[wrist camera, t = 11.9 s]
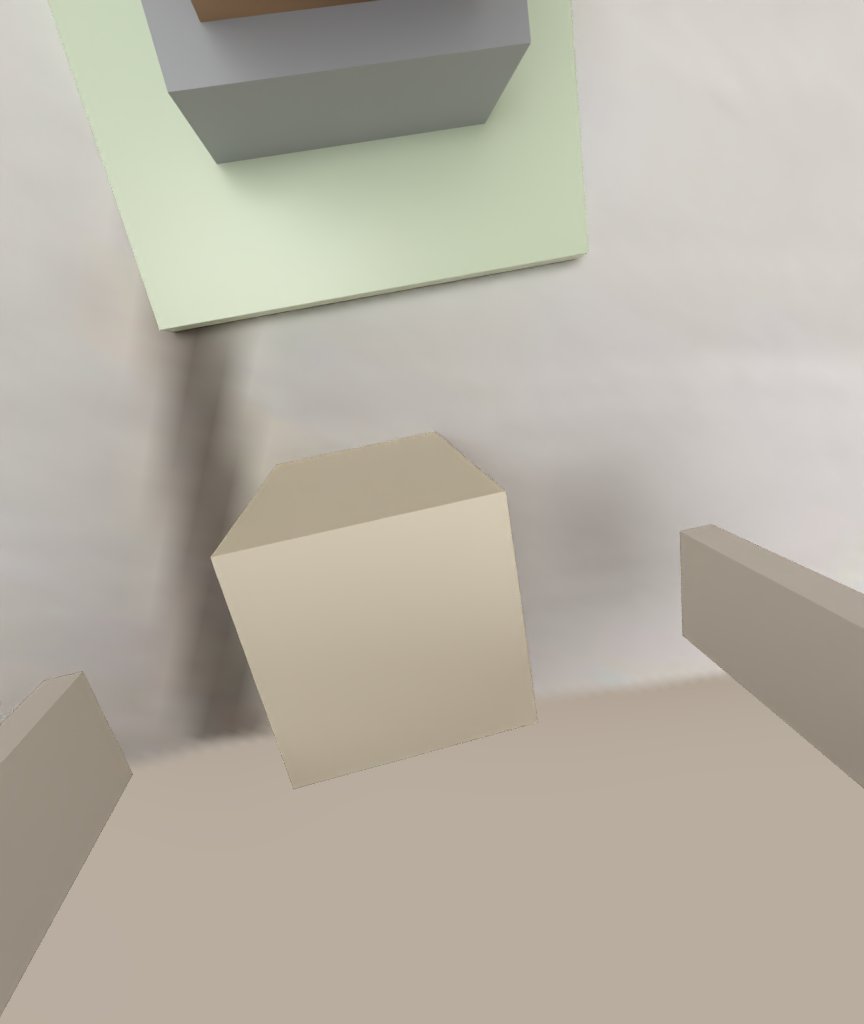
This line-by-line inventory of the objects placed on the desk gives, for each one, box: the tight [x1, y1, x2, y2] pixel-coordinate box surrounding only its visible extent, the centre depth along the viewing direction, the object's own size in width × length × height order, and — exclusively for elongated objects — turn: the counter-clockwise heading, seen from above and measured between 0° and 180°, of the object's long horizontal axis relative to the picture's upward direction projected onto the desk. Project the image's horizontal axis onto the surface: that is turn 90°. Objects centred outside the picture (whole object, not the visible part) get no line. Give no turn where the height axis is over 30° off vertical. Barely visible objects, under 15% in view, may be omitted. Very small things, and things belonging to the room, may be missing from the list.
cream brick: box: [210, 431, 538, 789], centre depth 15 cm, size 6×6×9 cm
